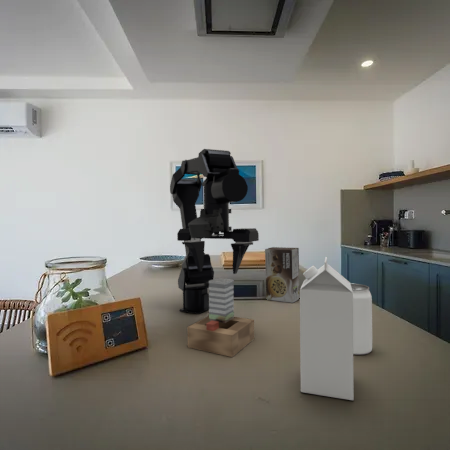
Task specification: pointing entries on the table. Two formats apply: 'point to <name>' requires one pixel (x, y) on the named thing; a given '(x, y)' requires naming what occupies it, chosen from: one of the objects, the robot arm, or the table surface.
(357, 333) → the can
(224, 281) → the ratchet post
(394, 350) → the table surface
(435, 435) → the table surface
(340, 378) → the milk carton
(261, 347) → the table surface
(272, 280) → the coffee box
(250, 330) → the tan stand block
